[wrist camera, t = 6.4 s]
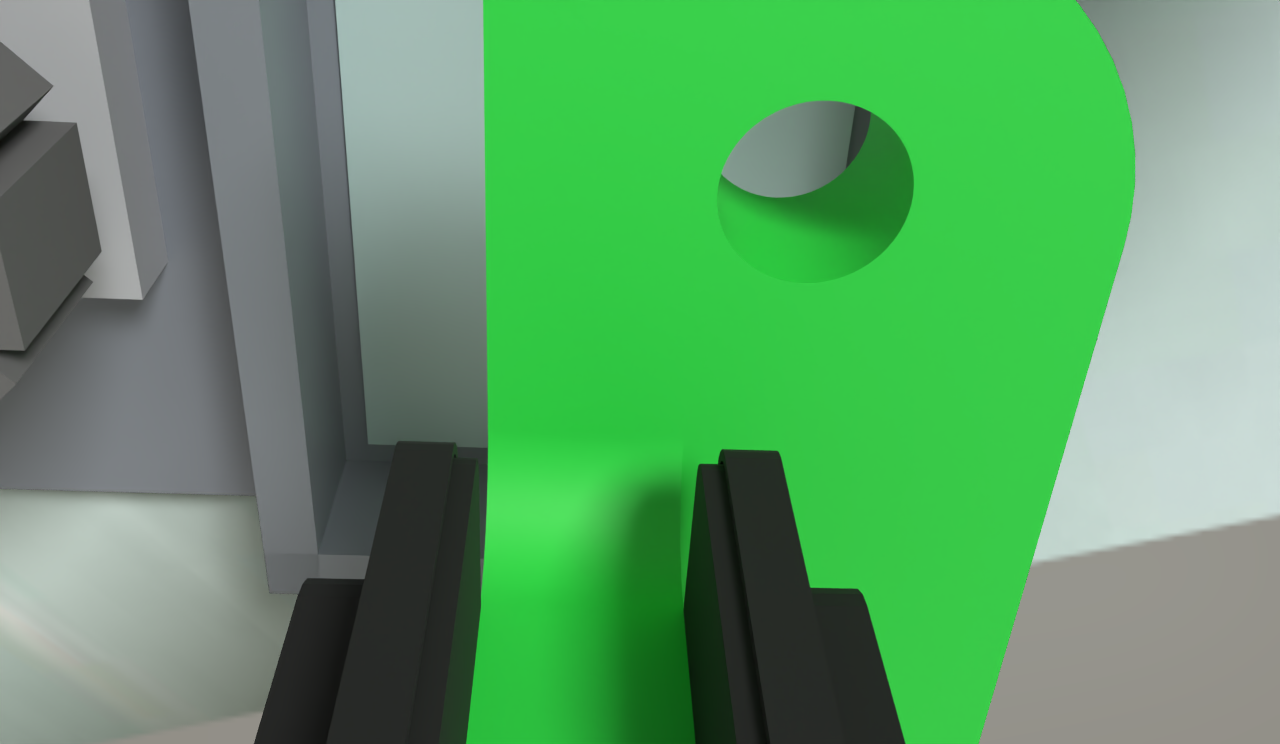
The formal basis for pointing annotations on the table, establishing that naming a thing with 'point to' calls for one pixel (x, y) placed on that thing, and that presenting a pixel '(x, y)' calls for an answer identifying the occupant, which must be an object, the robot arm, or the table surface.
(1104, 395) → the table surface
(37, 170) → the wheel
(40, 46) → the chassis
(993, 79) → the mechanical part
